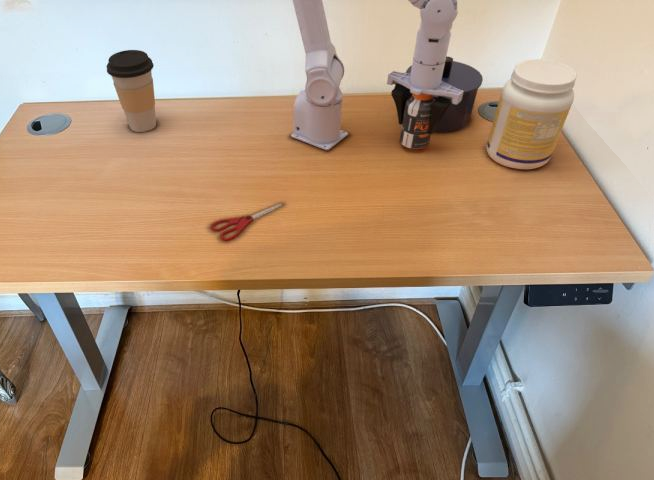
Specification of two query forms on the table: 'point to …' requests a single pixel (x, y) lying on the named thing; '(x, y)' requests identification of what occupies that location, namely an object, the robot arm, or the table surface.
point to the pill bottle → (416, 121)
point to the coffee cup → (134, 87)
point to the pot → (457, 114)
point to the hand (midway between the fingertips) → (416, 127)
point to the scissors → (238, 224)
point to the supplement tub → (531, 113)
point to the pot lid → (460, 75)
